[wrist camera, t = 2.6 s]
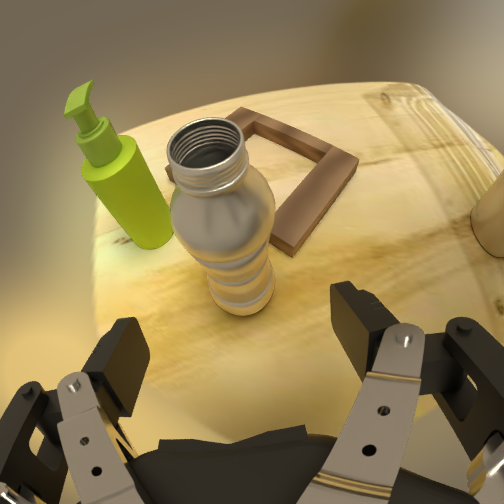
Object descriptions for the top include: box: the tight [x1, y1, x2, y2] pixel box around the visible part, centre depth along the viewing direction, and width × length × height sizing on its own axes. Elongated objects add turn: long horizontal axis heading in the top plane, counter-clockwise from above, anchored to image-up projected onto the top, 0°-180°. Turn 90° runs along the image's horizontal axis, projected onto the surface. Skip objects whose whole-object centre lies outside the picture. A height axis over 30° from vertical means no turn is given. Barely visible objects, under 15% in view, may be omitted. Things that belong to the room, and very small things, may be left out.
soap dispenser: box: [64, 80, 174, 249], centre depth 25 cm, size 6×7×20 cm
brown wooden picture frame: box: [165, 107, 359, 257], centre depth 35 cm, size 20×16×2 cm
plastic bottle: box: [167, 117, 275, 316], centre depth 21 cm, size 6×7×20 cm
